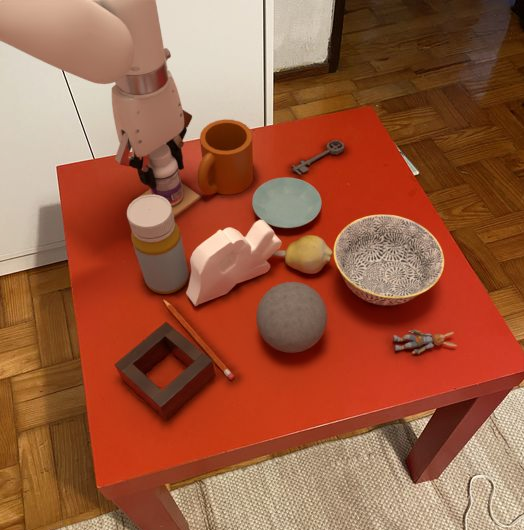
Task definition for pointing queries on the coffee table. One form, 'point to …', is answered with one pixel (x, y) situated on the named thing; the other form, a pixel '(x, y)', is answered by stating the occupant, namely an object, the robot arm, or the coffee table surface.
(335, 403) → the coffee table surface
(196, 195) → the coaster
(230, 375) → the pencil
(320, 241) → the fruit
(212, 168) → the mug
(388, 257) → the bowl
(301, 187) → the saucer
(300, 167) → the key
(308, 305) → the decorative ball
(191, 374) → the holder
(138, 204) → the bottle
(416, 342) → the figurine
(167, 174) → the pill bottle
